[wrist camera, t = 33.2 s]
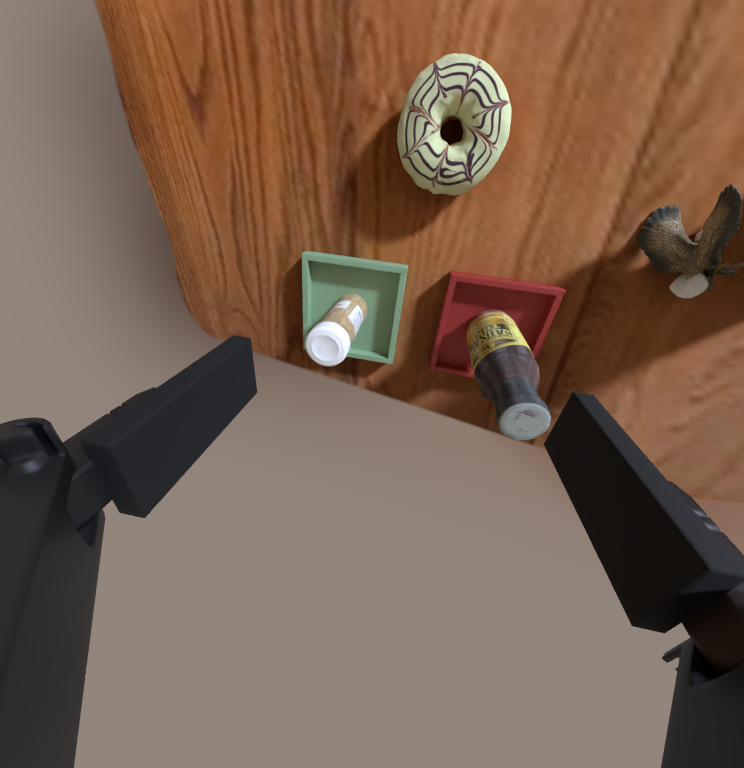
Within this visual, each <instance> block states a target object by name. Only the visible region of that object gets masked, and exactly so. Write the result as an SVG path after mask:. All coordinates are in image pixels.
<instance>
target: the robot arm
mask: <svg viewBox="0 0 744 768" xmlns="http://www.w3.org/2000/svg"><path fill="white" fill-rule="evenodd" d="M256 393H257V387H256V379H255V370H254V362H253V354H252V345H251V338H246V337H240V336H234V335H233V336H232V337H230V338H229V339H228V340H226V341H225V342H223V343H222V344H220V345H219V346H217V347H216V348H215V349H213V350H211V351H210V352H209V353H207V354H206V355H204V356H203V357H201V358H200V359H199V360H197V361H195V362H194V363H193V364H191V365H190V366H188V367H187V368H185V369H184V370H182V371H181V372H179V373H178V374H176V375H175V376H174V377H172V378H171V379H169V380H168V381H166V382H165V383H163V384H162V385H161V386H159V387H158V388H151V389H149V390H146V391H144V392H141V393H139V394H136V395H135V396H133V397H132V398H130V399H128V400H127V401H125V402H124V403H122V406H118V407H116V408H115V409H113V410H112V411H110V414H106V415H104V416H103V417H101V418H100V419H98V420H97V421H95V422H94V423H92V424H91V425H89V426H87V427H86V428H84V429H83V430H81V431H80V432H78V433H77V434H75V435H74V436H72V437H71V438H69V439H68V440H66V441H65V442H63V443H62V441H61V439H60V438H59V436H58V434H57V433H56V431H55V429H54V428H53V426H52V424H51V423H50V422H49V421H47V420H45V419H42V418H25V419H18V420H14V421H9V422H6V423H2V424H0V768H74V761H75V753H76V745H77V737H78V729H79V721H80V714H81V706H82V698H83V690H84V681H85V674H86V666H87V658H88V650H89V642H90V634H91V626H92V619H93V610H94V602H95V595H96V587H97V586H96V585H97V579H98V571H99V562H100V555H101V547H102V539H103V531H104V523H105V515H104V511H103V510H102V509H103V507H105V506H106V505H107V504H108V503H109V502H110V501H111V500H113V502H114V503H115V505H116V507H117V509H118V511H119V512H120V513H123V514H128V515H133V516H137V517H142V518H145V517H146V516H147V515H148V514H149V513H150V512H151V510H152V509H153V508H154V507H155V506H156V505H157V504H158V503H159V502H160V500H161V499H162V498H163V497H164V496H165V495H166V494H167V493H168V491H169V490H170V489H171V488H172V487H173V486H174V485H175V484H176V483H177V481H178V480H179V479H180V478H181V477H182V476H183V475H184V474H185V472H186V471H187V470H188V469H189V468H190V467H191V466H192V465H193V464H194V462H195V461H196V460H197V459H198V458H199V457H200V456H201V455H202V453H203V452H204V451H205V450H206V449H207V448H208V447H209V446H210V445H211V443H212V442H213V441H214V440H215V439H216V438H217V437H218V436H219V434H220V433H221V432H222V431H223V430H224V429H225V428H226V427H227V425H228V424H229V423H230V422H231V421H232V420H233V419H234V418H235V417H236V416H237V414H238V413H239V412H240V411H241V410H242V409H243V408H244V406H245V405H246V404H247V403H248V402H249V401H250V400H251V399H252V398H253V396H254V395H255V394H256ZM544 446H545V448H546V450H547V452H548V454H549V456H550V458H551V460H552V462H553V464H554V466H555V468H556V470H557V472H558V474H559V477H560V478H561V481H562V483H563V485H564V487H565V489H566V491H567V493H568V495H569V497H570V499H571V501H572V503H573V505H574V507H575V509H576V511H577V513H578V516H579V518H580V520H581V522H582V524H583V526H584V528H585V530H586V532H587V534H588V536H589V538H590V540H591V542H592V545H593V547H594V549H595V551H596V553H597V555H598V557H599V559H600V561H601V563H602V565H603V567H604V569H605V571H606V573H607V575H608V577H609V579H610V582H611V584H612V586H613V588H614V590H615V592H616V594H617V596H618V598H619V600H620V602H621V604H622V606H623V608H624V610H625V612H626V615H627V617H628V619H629V621H630V623H631V625H632V626H635V627H639V628H643V629H648V630H652V631H657V632H662V633H666V632H667V631H669V630H670V629H672V628H673V627H675V626H677V625H678V624H680V623H681V622H682V624H683V625H684V627H685V629H686V630H687V632H688V634H689V635H690V637H691V638H689V639H688V640H686V641H684V642H682V643H681V644H679V645H677V646H676V647H674V648H672V649H671V650H669V651H667V652H666V653H665V654H664V656H663V657H662V659H663V660H664V661H666V662H667V663H668V662H670V661H672V660H673V659H675V658H680V659H679V665H678V668H676V670H677V677H676V684H675V689H674V695H673V701H672V707H671V713H670V718H669V724H668V730H667V737H666V742H665V748H664V754H663V759H662V765H661V768H744V555H743V554H742V553H741V552H740V551H739V550H738V548H737V547H736V546H735V545H734V544H733V543H732V542H731V541H730V540H729V539H728V537H727V536H726V535H725V534H724V533H723V532H720V531H719V527H718V526H717V525H716V524H715V523H714V522H713V521H712V520H711V518H709V517H707V516H706V513H705V512H704V511H703V510H702V509H701V508H700V506H699V505H698V504H697V503H696V502H695V501H694V500H693V498H692V497H690V496H689V495H688V494H687V493H685V492H684V491H683V490H681V489H680V488H679V487H678V486H676V485H675V484H674V483H672V482H670V481H667V480H666V479H665V477H664V476H663V475H662V474H661V473H660V472H659V470H658V469H657V468H656V467H655V466H654V465H653V464H652V462H651V461H650V460H649V459H648V458H647V457H646V455H645V454H644V453H643V452H642V451H641V450H640V449H639V447H638V446H637V445H636V444H635V443H634V442H633V440H632V439H631V438H630V437H629V436H628V435H627V434H626V432H625V431H624V430H623V429H622V428H621V427H620V425H619V424H618V423H617V422H616V421H615V420H614V419H613V417H612V416H611V415H610V414H609V413H608V412H607V410H606V409H605V408H604V407H603V406H602V405H601V404H600V402H599V401H598V400H597V399H596V398H595V397H594V395H589V394H583V393H577V392H572V394H571V396H570V398H569V400H568V401H567V403H566V405H565V407H564V409H563V410H562V412H561V414H560V416H559V418H558V419H557V421H556V423H555V425H554V427H553V429H552V430H551V432H550V434H549V436H548V438H547V439H546V441H545V443H544Z"/></svg>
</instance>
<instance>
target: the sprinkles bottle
mask: <svg viewBox="0 0 744 768" xmlns="http://www.w3.org/2000/svg"><path fill="white" fill-rule="evenodd" d="M367 311H368V310H367V305H366V303H365V301H364V300H363V299H362V298H361V297H360V296H359V295H356V294H346V295H344V296H342V297H341V298H340V299H339V300H338V302H337V304H335V305H334V307H333V308H332V309H331V310H330V311H329V313H328V314H327V315H326V316H325V317H324V318H323V320H322V321H321V322H320V323H318V324H317V325H315V326H314V327H313V328H312V330H311V331H310V332H309V333H308V335H307V337H306V341H305V347H306V350H307V353H308V355H309V356H310V357H311V358H312V359H313V360H314V361H315V362H316V363H318V364H320V365H323V366H335V365H338V364H339V363H341V362H342V361H343V360H344V358H345V357H346V355H347V354H348V352H349V349H350V344H351V343H352V342H353V340H354V338H355V336H356V335H357V333H358V331H359V329H360V327H361V325H362V322H363V321H364V320H365V318H366V316H367Z"/></svg>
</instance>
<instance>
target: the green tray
mask: <svg viewBox="0 0 744 768" xmlns="http://www.w3.org/2000/svg"><path fill="white" fill-rule="evenodd" d="M407 271H408V265H404V264H397V263H390V262H383V261H376V260H369V259H362V258H354V257H347V256H340V255H333V254H326V253H319V252H312V251H306V252H303V253H302V298H303V349H304V350H306V347H305V341H306V337H307V335H308V333H309V332H310V331H311V330H312V328H313V327H314V326H315V325H317V324H318V323H320V322H321V321H322V320H323V318H324V317H325V316H326V315H327V314H328V313H329V311H330V310H331V309H332V308H333V307H334V305H335V304H337V302H338V300H339V299H340V298H341V297H342V296H344V295H346V294H356V295H359V296H360V297H361V298H362V299H363V300H364V301H365V303H366V305H367V310H368V311H367V316H366V318H365V320H364V321H363V322H362V325H361V327H360V329H359V331H358V333H357V335H356V336H355V338H354V340H353V342H352V343H351V344H350V349H349V352H348V354H347V355H346V357H351V358H357V359H363V360H369V361H375V362H381V363H387V364H392V363H393V358H394V352H395V346H396V340H397V333H398V327H399V321H400V315H401V308H402V302H403V296H404V290H405V283H406V277H407Z"/></svg>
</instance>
